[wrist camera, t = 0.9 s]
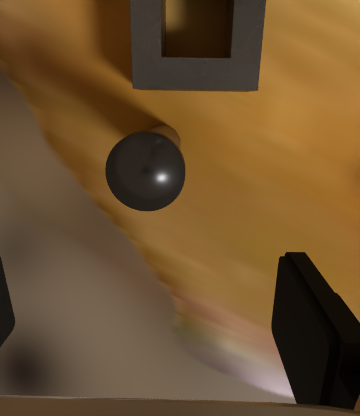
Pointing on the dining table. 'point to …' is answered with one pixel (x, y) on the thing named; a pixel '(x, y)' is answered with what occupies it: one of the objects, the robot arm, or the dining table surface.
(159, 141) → the steel peg
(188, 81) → the chuck block
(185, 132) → the dining table surface
